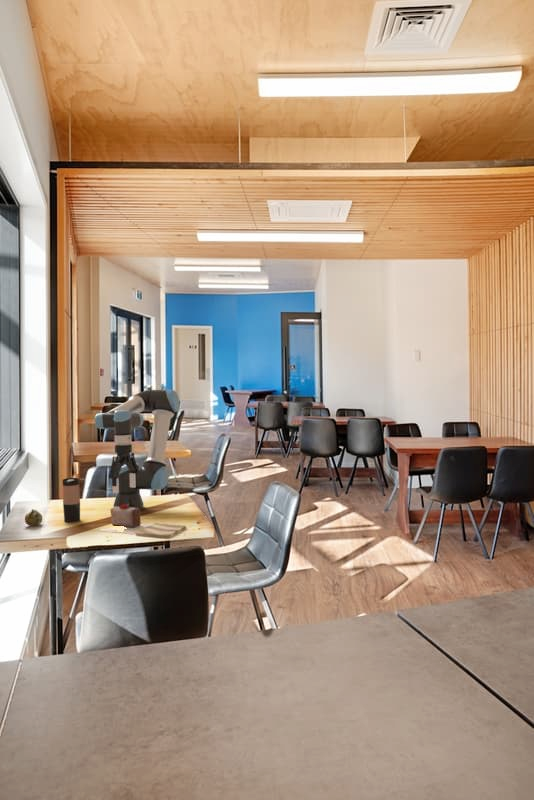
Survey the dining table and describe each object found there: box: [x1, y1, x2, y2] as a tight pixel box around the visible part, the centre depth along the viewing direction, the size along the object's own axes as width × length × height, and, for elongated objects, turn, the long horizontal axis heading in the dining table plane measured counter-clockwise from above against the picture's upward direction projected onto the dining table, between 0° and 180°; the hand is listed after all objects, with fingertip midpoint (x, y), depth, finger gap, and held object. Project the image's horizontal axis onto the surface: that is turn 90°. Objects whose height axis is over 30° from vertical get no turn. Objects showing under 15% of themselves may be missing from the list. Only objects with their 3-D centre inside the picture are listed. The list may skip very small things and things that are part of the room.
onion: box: [24, 508, 43, 527], centre depth 276 cm, size 8×8×8 cm
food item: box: [110, 503, 142, 528], centre depth 273 cm, size 14×8×10 cm, turn 66°
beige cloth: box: [135, 522, 187, 539], centre depth 262 cm, size 16×16×1 cm
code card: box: [98, 523, 152, 535], centre depth 270 cm, size 16×18×1 cm
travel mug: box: [62, 477, 81, 524], centre depth 283 cm, size 8×8×20 cm
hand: (124, 490), depth 272 cm, fingers open, 13 cm apart
